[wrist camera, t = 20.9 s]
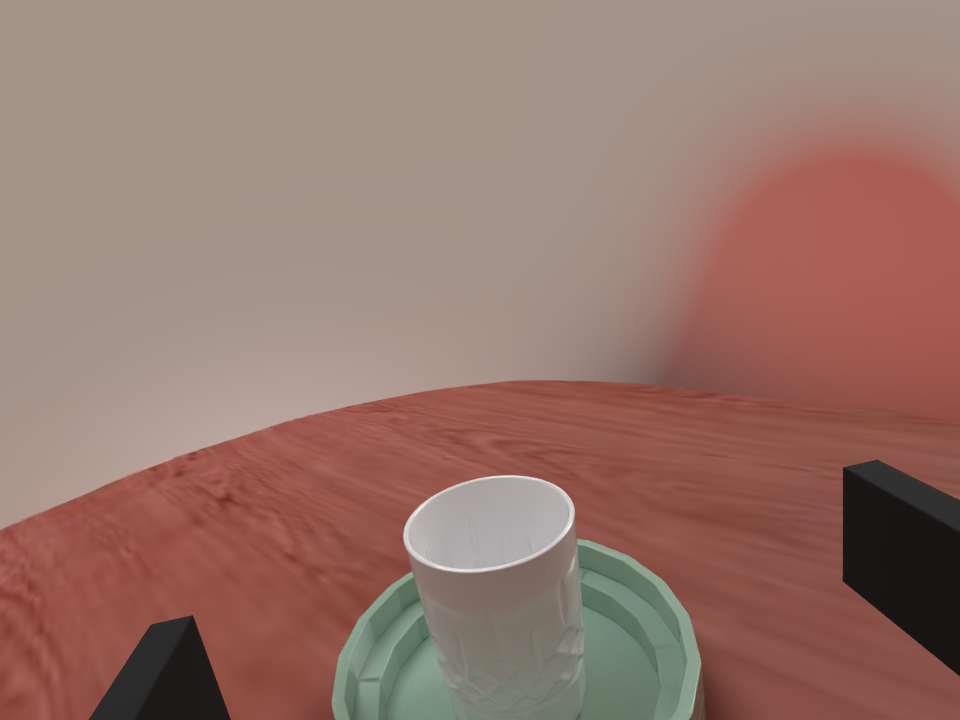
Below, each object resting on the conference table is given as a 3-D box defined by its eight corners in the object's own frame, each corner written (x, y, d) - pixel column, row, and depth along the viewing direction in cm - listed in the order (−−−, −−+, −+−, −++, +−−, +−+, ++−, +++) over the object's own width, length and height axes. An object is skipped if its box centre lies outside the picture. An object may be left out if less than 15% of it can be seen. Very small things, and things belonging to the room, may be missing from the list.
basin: (619, 563, 37) (613, 511, 36) (795, 840, 20) (794, 757, 19) (365, 622, 35) (352, 569, 34) (328, 973, 18) (299, 891, 17)
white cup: (416, 685, 29) (376, 519, 26) (532, 611, 33) (507, 460, 30) (500, 807, 22) (458, 600, 20) (633, 696, 26) (612, 512, 23)
